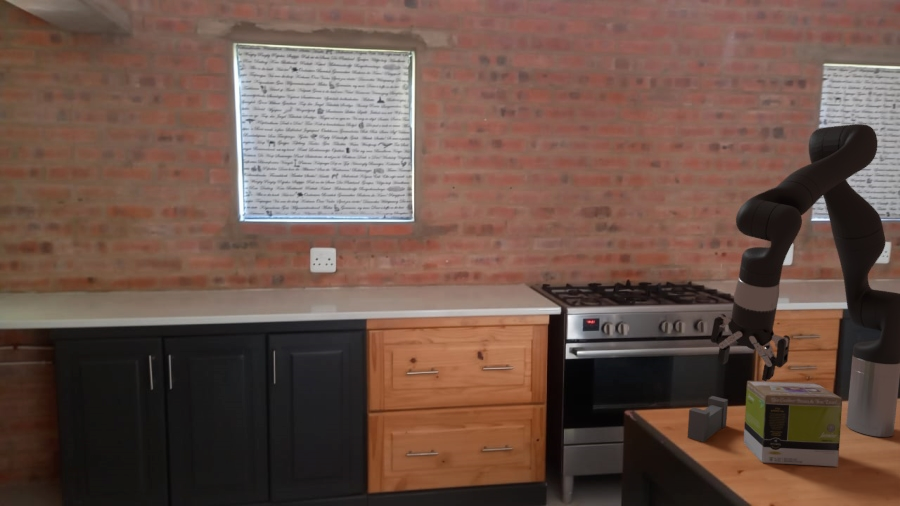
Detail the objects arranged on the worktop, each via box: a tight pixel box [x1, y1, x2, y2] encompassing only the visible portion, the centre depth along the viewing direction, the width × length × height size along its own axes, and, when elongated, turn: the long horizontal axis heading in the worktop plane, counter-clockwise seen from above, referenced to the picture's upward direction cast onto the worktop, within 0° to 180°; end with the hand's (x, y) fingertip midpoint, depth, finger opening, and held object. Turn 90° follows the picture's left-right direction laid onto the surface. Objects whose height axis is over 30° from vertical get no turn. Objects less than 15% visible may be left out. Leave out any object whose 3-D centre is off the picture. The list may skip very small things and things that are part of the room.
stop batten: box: [687, 395, 729, 443], centre depth 136 cm, size 14×4×6 cm, turn 136°
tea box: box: [743, 380, 843, 468], centre depth 124 cm, size 15×10×15 cm
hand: (744, 370), depth 121 cm, fingers open, 8 cm apart
